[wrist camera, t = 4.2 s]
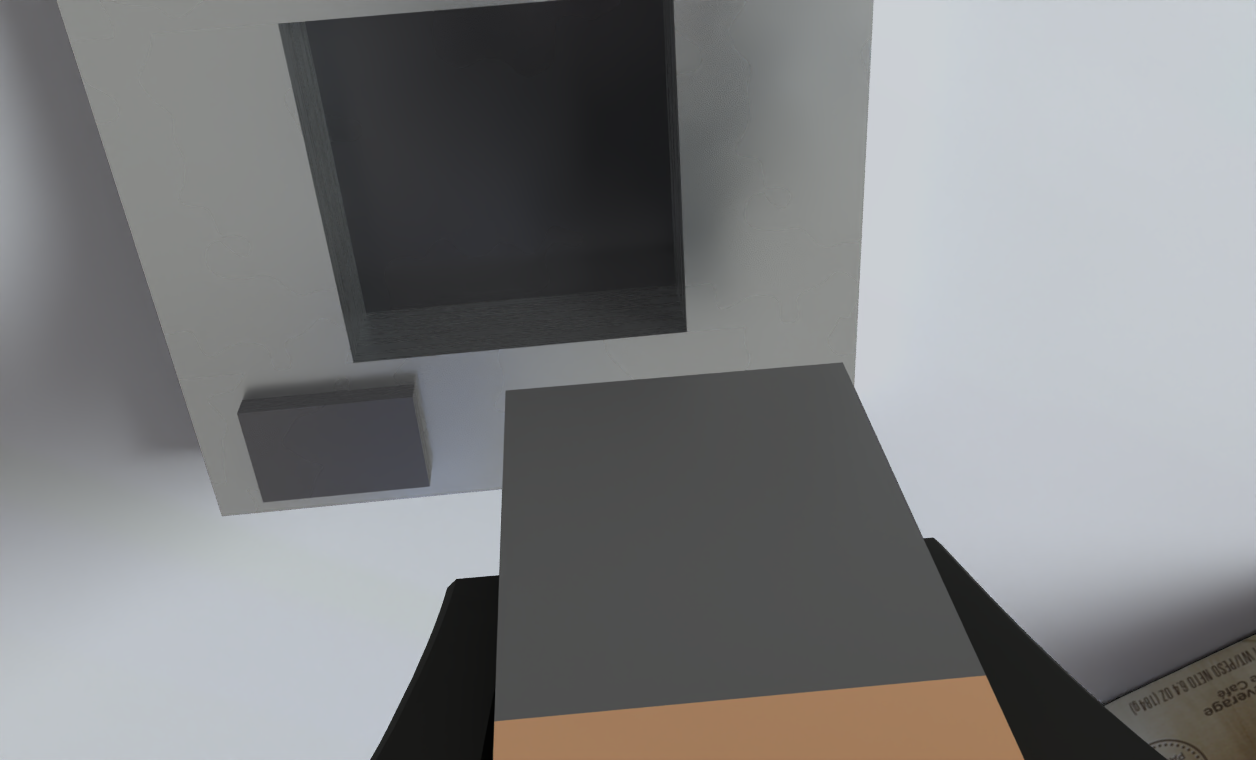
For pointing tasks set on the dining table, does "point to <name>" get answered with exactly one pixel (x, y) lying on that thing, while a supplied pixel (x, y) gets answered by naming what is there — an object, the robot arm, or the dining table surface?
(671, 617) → the plug
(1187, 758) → the coffee box
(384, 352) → the socket plate
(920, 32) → the dining table surface
